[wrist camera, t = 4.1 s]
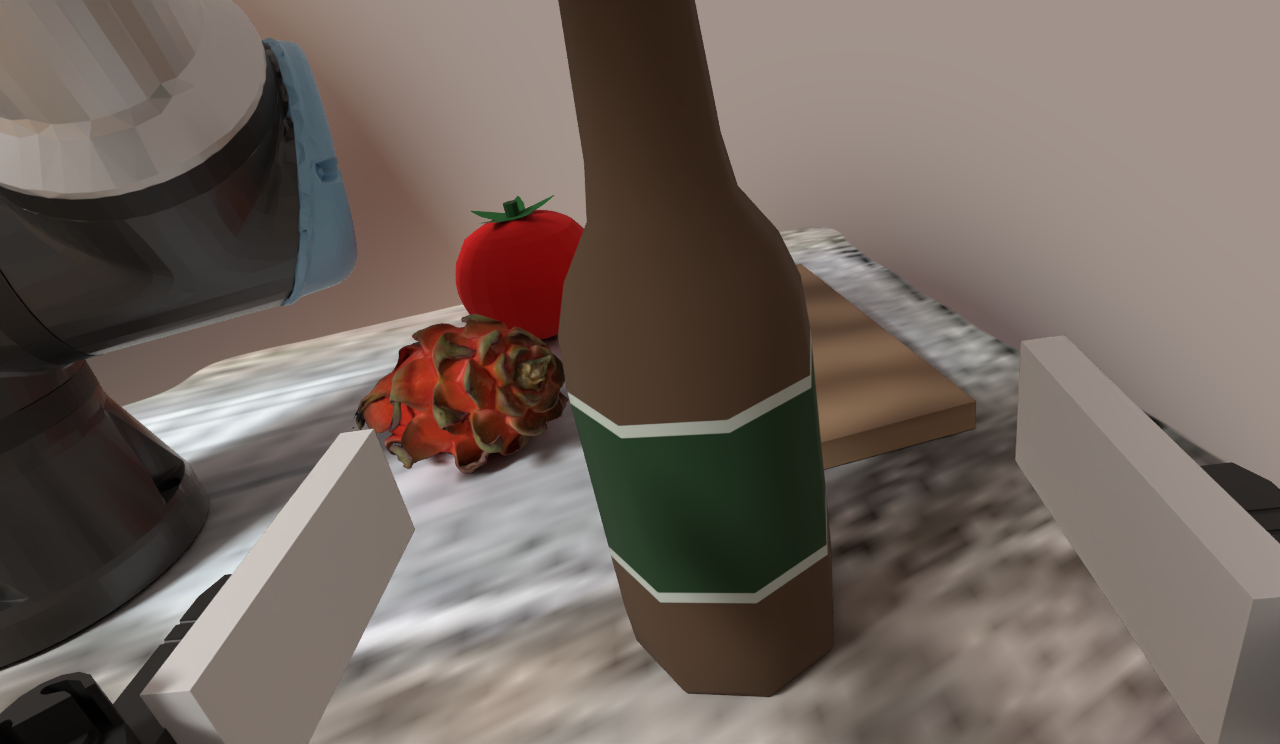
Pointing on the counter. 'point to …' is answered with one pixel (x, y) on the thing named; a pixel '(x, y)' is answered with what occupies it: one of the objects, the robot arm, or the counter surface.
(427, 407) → the dragon fruit
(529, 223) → the tomato
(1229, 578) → the robot arm
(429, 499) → the counter surface
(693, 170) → the beer bottle
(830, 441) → the wooden cutting board
